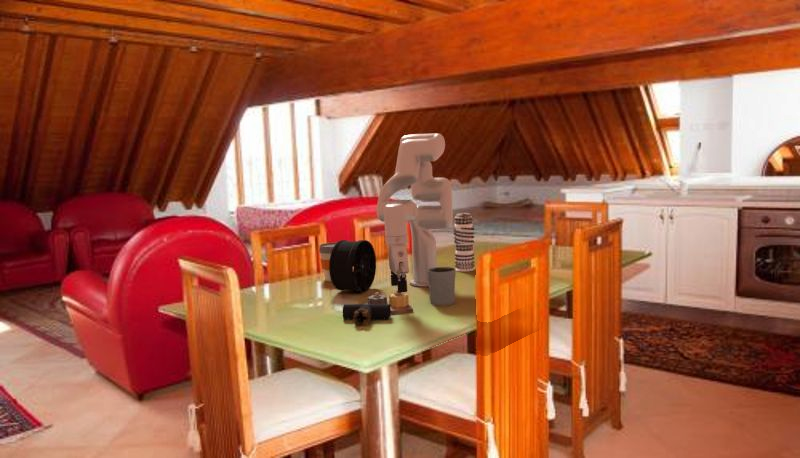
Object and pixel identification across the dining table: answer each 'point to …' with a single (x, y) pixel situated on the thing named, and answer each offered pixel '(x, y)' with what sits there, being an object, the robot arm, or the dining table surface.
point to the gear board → (383, 300)
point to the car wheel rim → (352, 265)
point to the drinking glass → (441, 285)
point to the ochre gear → (398, 300)
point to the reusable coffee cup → (326, 258)
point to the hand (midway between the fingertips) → (399, 288)
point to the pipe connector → (366, 312)
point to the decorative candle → (464, 242)
